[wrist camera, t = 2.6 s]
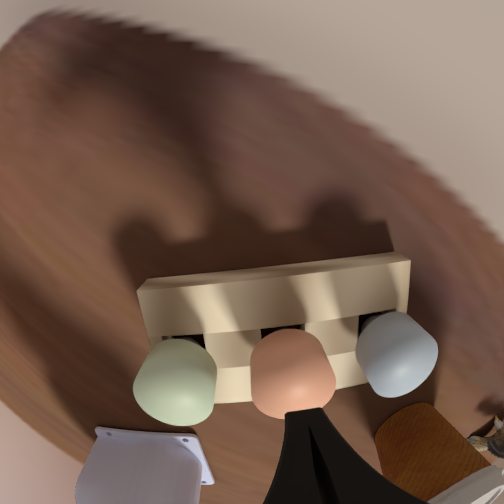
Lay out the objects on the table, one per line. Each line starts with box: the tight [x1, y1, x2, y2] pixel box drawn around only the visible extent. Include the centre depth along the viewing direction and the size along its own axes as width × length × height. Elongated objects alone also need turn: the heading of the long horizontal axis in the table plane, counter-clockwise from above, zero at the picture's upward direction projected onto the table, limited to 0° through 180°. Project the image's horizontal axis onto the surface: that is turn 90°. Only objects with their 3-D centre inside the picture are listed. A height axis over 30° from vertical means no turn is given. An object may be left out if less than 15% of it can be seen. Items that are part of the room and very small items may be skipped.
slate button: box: [355, 312, 438, 398], centre depth 14 cm, size 4×4×4 cm
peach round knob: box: [250, 328, 336, 419], centre depth 14 cm, size 4×4×4 cm
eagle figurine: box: [467, 415, 504, 458], centre depth 20 cm, size 8×7×9 cm
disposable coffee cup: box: [374, 402, 504, 504], centre depth 15 cm, size 10×10×12 cm
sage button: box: [133, 337, 217, 426], centre depth 14 cm, size 4×4×4 cm
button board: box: [137, 252, 411, 403], centre depth 17 cm, size 15×8×2 cm, turn 96°
